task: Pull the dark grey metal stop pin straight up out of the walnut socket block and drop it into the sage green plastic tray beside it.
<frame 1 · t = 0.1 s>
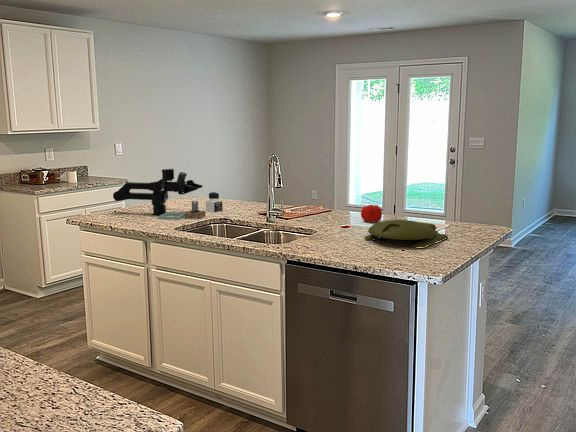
hand: (199, 187, 329), 17 cm above the worktop, tool horizontal, fingers open, 9 cm apart
stop pin: (195, 217, 322), point 1 cm above the worktop, touching socket block
tomato: (371, 222, 313), on the worktop
socket block: (195, 218, 322), on the worktop
olive green domed shape: (403, 241, 269), on the worktop
medicine bottle: (214, 212, 343), on the worktop
tray: (172, 219, 322), on the worktop
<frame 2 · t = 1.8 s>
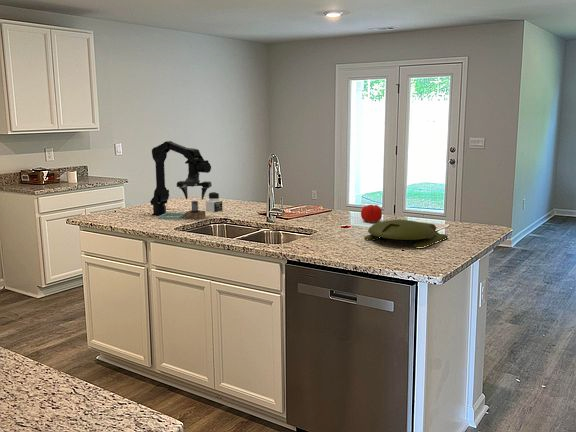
hand: (194, 199, 320), 11 cm above the worktop, tool pointing down, fingers open, 9 cm apart
nothing on the worktop moved.
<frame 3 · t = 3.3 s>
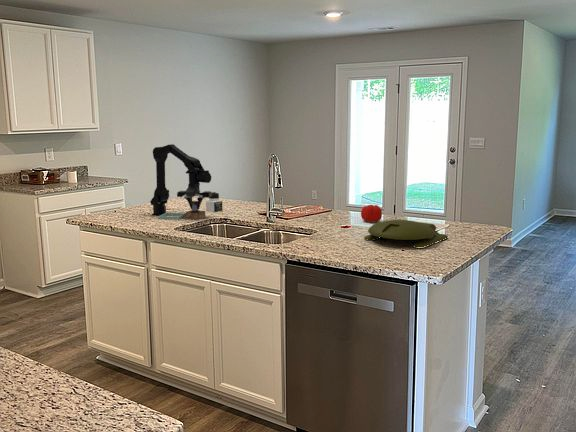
hand: (195, 209, 321), 6 cm above the worktop, tool pointing down, fingers closed on stop pin, 4 cm apart
stop pin: (195, 217, 322), point 1 cm above the worktop, touching gripper, socket block
everything else where it was.
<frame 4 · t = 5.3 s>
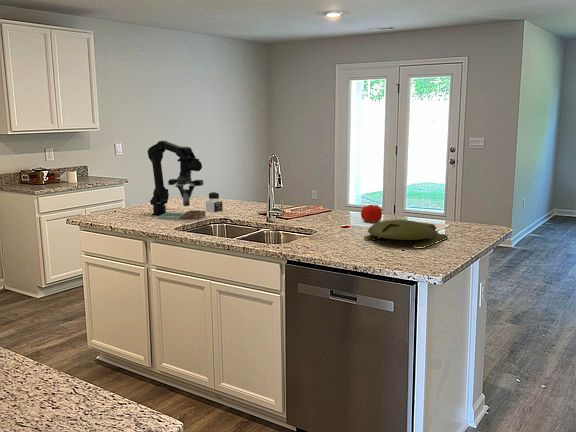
hand: (186, 197, 320), 12 cm above the worktop, tool pointing down, fingers closed on stop pin, 4 cm apart
stop pin: (186, 205, 321), point 8 cm above the worktop, touching gripper
everything else where it was.
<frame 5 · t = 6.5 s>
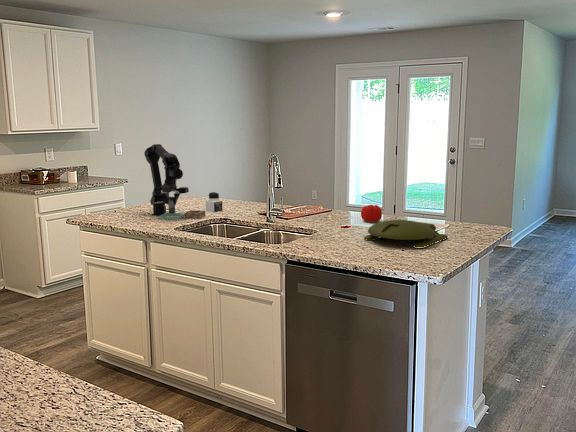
hand: (171, 205, 320), 8 cm above the worktop, tool pointing down, fingers closed on stop pin, 4 cm apart
stop pin: (172, 212, 321), point 4 cm above the worktop, touching gripper
everything else where it was.
when the fingers open (7 cm above the worktop, at t = 7.4 s): stop pin drops 1 cm, resting on tray.
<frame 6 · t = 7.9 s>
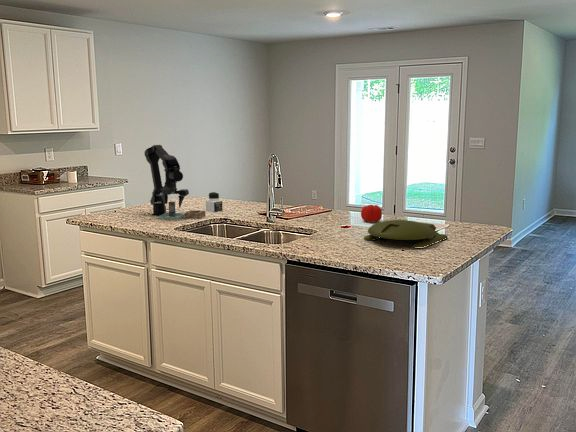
hand: (171, 207, 320), 7 cm above the worktop, tool pointing down, fingers open, 9 cm apart
stop pin: (172, 217, 321), point 1 cm above the worktop, touching tray
everything else where it was.
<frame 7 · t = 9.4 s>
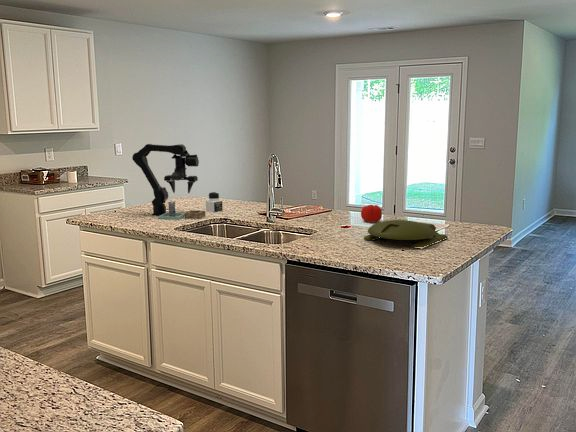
hand: (181, 193, 332), 13 cm above the worktop, tool pointing down, fingers open, 9 cm apart
nothing on the worktop moved.
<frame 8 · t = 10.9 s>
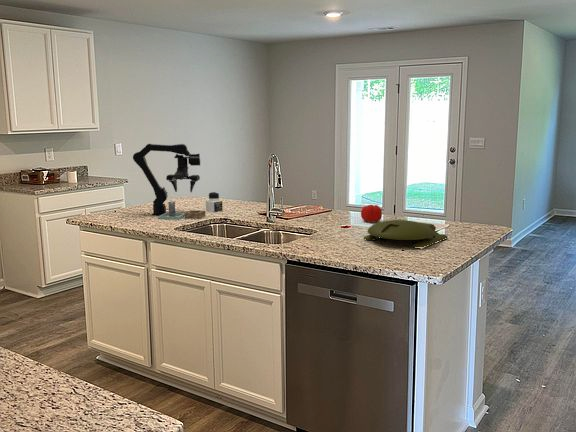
hand: (183, 192, 335), 13 cm above the worktop, tool pointing down, fingers open, 9 cm apart
nothing on the worktop moved.
at the end: stop pin inside the target area on the tray (0.0 cm from its centre), point 0.8 cm above the tray's base; stop pin moved 12.9 cm from its start; the gripper is holding nothing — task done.
